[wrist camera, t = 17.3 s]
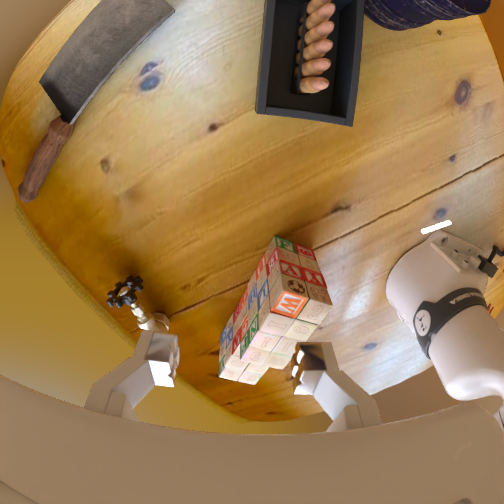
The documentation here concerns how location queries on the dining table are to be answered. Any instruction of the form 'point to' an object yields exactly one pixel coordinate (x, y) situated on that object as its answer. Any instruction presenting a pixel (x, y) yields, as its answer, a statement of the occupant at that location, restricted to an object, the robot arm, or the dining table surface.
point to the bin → (341, 56)
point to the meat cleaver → (88, 72)
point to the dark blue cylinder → (420, 11)
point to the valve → (137, 305)
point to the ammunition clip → (312, 47)
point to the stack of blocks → (274, 312)
